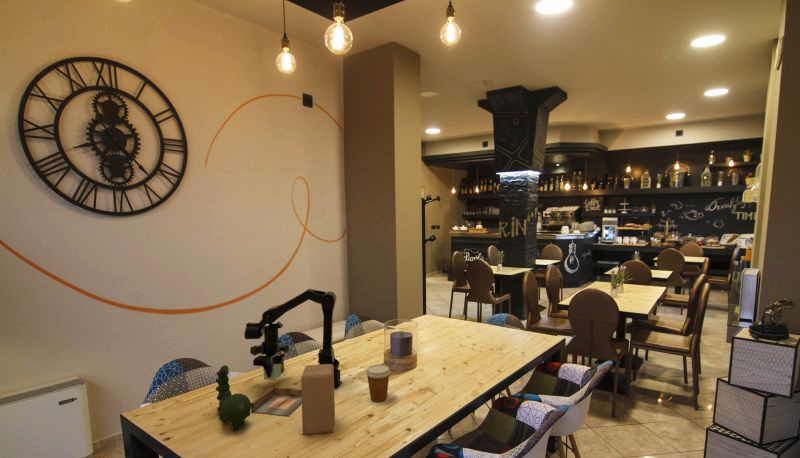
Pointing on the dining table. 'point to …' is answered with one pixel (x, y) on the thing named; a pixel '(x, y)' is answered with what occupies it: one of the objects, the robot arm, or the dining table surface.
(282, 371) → the condiment
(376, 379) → the disposable coffee cup
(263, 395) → the arena
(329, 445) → the dining table surface
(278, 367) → the cube
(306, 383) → the wooden block
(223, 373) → the toy figurine
